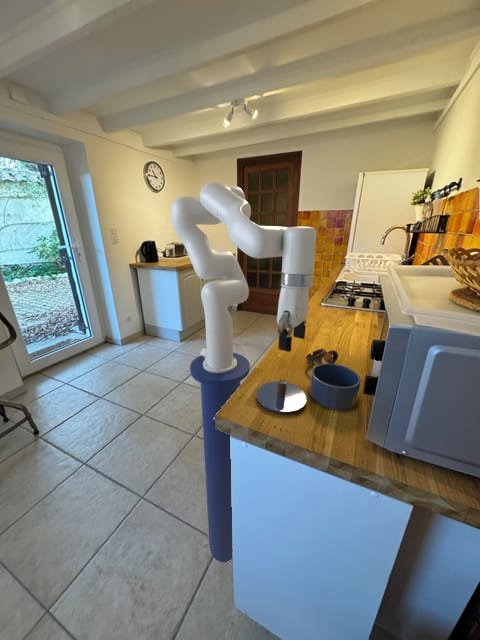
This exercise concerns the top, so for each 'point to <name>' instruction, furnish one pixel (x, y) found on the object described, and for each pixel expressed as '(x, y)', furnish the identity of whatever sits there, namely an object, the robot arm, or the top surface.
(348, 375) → the bowl
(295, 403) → the bowl lid
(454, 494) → the top surface
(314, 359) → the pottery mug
